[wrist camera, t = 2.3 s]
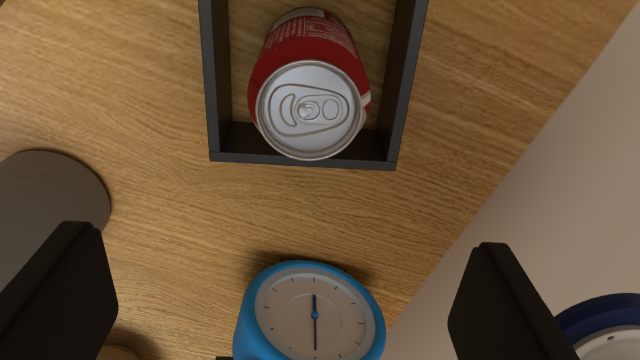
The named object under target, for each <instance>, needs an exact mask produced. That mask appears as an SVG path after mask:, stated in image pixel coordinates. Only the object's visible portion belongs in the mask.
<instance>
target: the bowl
mask: <svg viewBox="0 0 640 360" xmlns="http://www.w3.org/2000/svg"><path fill="white" fill-rule="evenodd" d="M96 360H139V359H138V357H137V356H136V355H135V353H133V352H132V351H131V350H129V349H128V348H125V347H123V346H119V345H105V346H102V348H101V350H100V352H99V354H98V356H97V358H96Z"/></svg>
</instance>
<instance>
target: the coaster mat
mask: <svg viewBox="0 0 640 360" xmlns="http://www.w3.org/2000/svg"><path fill="white" fill-rule="evenodd" d="M216 360H234V359H233V357H216Z"/></svg>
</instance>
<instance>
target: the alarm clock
mask: <svg viewBox="0 0 640 360" xmlns="http://www.w3.org/2000/svg"><path fill="white" fill-rule="evenodd" d="M385 341H386V327H385V322H384V318H383V315H382V312H381V310H380V308H379V306H378V304H377V302H376V300H375V299H374V298H373V296H372V295H371V294H370V292H369V291H368V290H367V289H366V288H365V287H364V286H363V285H362V284H361V283H360V282H359V281H357V280H356V279H355V278H353V277H352V276H351V275H349V274H347V273H346V270H344V271H342V270H340V269H338V268H336V267H333V266H331V265H328V264H325V263H321V262H317V261H311V260H289V261H285V260H284V259H283V258H280V263H277V264H274V265H272V266H270V267H268V268H266V269H264V270H263V271H261V272H260V273H259V274H258V275H257V276H255V278H254V279H253V280H252V281H251V282H250V284H249V285H248V287H247V289H246V291H245V294H244V296H243V300H242V304H241V308H240V312H239V316H238V320H237V325H236V329H235V333H234V337H233V344H232V351H233V359H234V360H379V359H380V357H381V355H382V352H383V350H384V346H385Z"/></svg>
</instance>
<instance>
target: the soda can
mask: <svg viewBox="0 0 640 360" xmlns="http://www.w3.org/2000/svg"><path fill="white" fill-rule="evenodd" d="M247 99H248V107H249V111H250V115H251V117H252V120H253V122H254V124H255V126H256V127H257V129H258V130H259V132H260V133H261V134H262V135H263V137H264V138H265V140H266V141H267V142H268V143H269V144H270V145H271V146H272V147H273V148H274V149H275V150H277V151H278V152H280V153H281V154H283V155H285V156H287V157H290V158H293V159H297V160H303V161H316V160H322V159H326V158H329V157H331V156H333V155H335V154H337V153H339V152H340V151H342V150H343V149H344V148H346V147H347V146H348V145H349V144H350V143H351V141H352V140H353V139H354V137H355V136H356V135H357V133H358V132H359V131H360V129H361V128H362V126H363V124H364V123H365V120H366V118H367V115H368V112H369V108H370V100H371V93H370V86H369V81H368V78H367V75H366V73H365V70H364V68H363V65H362V62H361V60H360V57H359V55H358V52H357V49H356V47H355V44H354V42H353V39H352V37H351V34H350V32H349V30H348V29H347V27H346V26H345V24H344V23H343V22H342V21H341V20H340V19H339V18H338V17H336V16H335V15H333V14H332V13H330V12H328V11H326V10H323V9H319V8H313V7H305V8H299V9H295V10H292V11H290V12H288V13H286V14H285V15H283V16H282V17H280V18H279V19H278V20H277V21H276V22H275V23H274V25H273V26H272V27H271V29H270V31H269V33H268V35H267V37H266V40H265V42H264V45H263V47H262V50H261V52H260V55H259V57H258V60H257V62H256V65H255V67H254V70H253V72H252V75H251V78H250V81H249V85H248V94H247Z"/></svg>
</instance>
